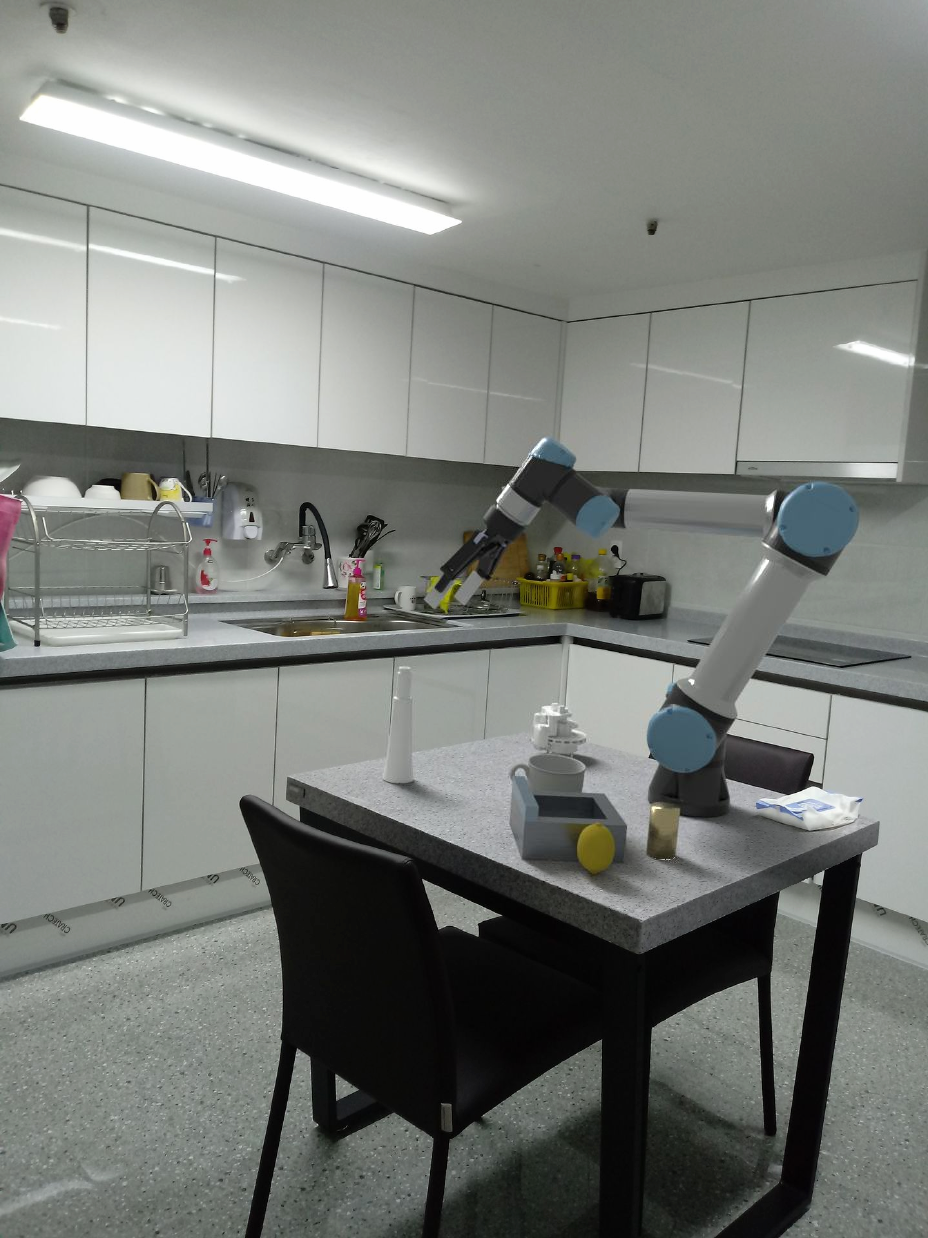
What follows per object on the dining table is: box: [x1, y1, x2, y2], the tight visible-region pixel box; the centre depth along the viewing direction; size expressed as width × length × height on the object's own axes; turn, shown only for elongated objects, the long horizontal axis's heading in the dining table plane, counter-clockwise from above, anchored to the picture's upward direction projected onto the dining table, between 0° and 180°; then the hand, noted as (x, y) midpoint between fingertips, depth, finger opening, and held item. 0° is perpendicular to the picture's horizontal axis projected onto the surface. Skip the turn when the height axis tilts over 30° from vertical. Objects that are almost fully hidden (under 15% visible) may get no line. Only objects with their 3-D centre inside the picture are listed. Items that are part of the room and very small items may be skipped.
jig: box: [508, 775, 628, 864], centre depth 151 cm, size 16×16×8 cm
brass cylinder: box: [645, 802, 681, 860], centre depth 148 cm, size 5×5×8 cm
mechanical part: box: [530, 702, 587, 758], centre depth 204 cm, size 11×12×12 cm
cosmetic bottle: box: [382, 666, 415, 784], centre depth 179 cm, size 6×6×22 cm
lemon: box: [577, 822, 615, 875], centre depth 138 cm, size 6×6×8 cm
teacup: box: [508, 753, 587, 793], centre depth 171 cm, size 14×11×8 cm
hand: (444, 602), depth 177 cm, fingers open, 13 cm apart
